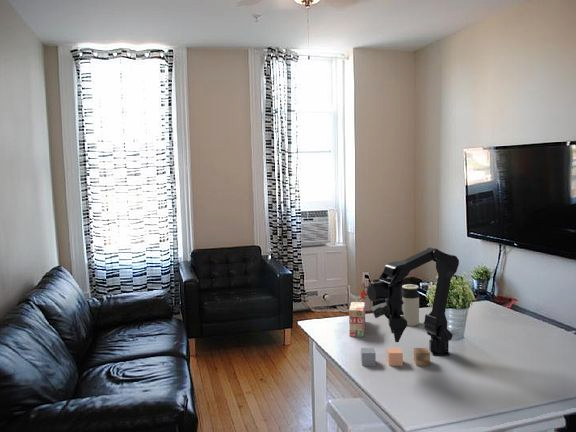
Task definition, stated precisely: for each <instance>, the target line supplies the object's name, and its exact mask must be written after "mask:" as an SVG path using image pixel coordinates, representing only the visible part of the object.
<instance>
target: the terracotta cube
mask: <svg viewBox="0 0 576 432" xmlns="http://www.w3.org/2000/svg"><path fill="white" fill-rule="evenodd" d="M386 352H387V353H386V358H387V359H386V361H387V363H388V366H390V367H393V366H394V367H395V366H399V367H403V366H404V365H403V363H404V360H403V359H404V358H403V357H404V356H403V355H404V354H403V351H402V348H401V347H387V349H386Z"/></svg>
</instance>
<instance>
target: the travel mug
mask: <svg viewBox="0 0 576 432" xmlns="http://www.w3.org/2000/svg"><path fill="white" fill-rule="evenodd" d="M418 290H419V285H417V284H411V283H407V285H402V300H403V304H402V305H403V312H404V315H401V316H403V317H405V318H406V320H407V327H416V326H418V325H419V324H420V292H419V291H418Z"/></svg>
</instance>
